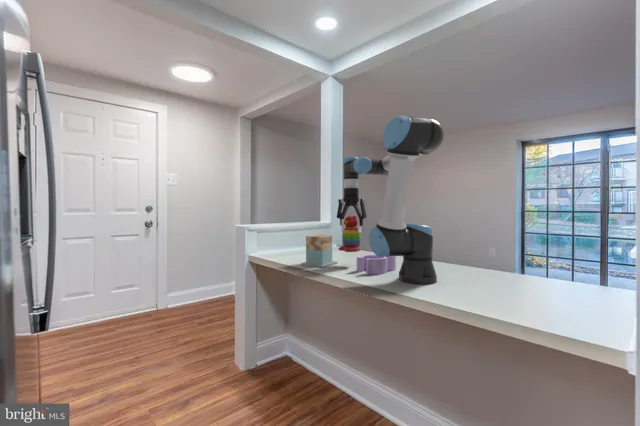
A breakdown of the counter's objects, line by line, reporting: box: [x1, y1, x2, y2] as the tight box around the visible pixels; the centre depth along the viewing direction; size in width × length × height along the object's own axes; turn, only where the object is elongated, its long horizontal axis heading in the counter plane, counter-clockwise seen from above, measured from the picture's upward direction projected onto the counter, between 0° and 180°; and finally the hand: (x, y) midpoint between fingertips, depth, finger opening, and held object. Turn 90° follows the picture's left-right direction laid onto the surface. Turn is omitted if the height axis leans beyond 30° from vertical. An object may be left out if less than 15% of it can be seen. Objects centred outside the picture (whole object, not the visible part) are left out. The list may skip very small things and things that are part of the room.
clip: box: [356, 254, 397, 275], centre depth 150 cm, size 20×12×7 cm, turn 124°
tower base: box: [300, 248, 338, 269], centre depth 166 cm, size 14×14×8 cm
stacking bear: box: [338, 215, 362, 253], centre depth 161 cm, size 11×10×18 cm
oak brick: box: [305, 234, 333, 251], centre depth 166 cm, size 10×10×7 cm
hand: (351, 232), depth 161 cm, fingers closed on stacking bear, 8 cm apart
